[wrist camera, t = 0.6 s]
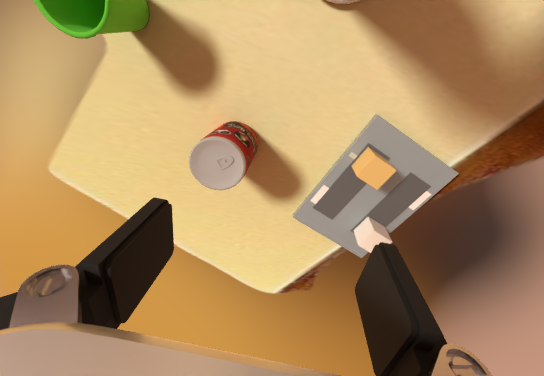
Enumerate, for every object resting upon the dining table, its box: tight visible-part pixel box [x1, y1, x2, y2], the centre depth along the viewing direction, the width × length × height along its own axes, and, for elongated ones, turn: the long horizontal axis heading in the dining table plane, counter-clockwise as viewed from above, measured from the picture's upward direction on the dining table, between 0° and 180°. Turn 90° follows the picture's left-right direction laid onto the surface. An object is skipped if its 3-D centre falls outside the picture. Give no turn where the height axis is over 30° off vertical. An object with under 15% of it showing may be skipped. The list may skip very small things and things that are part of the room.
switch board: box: [293, 114, 458, 258], centre depth 43 cm, size 23×17×1 cm
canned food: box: [189, 122, 257, 190], centre depth 37 cm, size 8×8×11 cm
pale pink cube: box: [354, 217, 392, 253], centre depth 43 cm, size 4×4×4 cm
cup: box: [34, 0, 149, 39], centre depth 29 cm, size 9×9×11 cm
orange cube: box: [352, 147, 397, 190], centre depth 37 cm, size 4×4×4 cm
